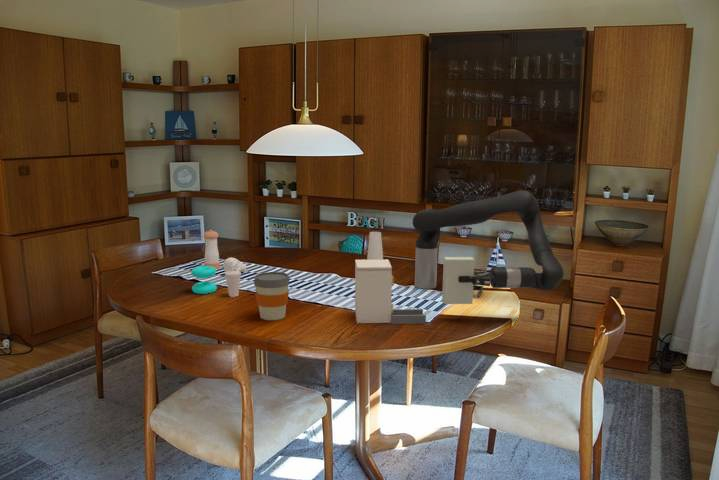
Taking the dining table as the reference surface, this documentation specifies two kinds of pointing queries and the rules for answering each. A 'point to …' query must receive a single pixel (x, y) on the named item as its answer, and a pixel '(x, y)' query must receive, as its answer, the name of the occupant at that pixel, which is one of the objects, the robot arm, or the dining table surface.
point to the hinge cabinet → (379, 295)
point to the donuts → (204, 286)
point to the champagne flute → (375, 246)
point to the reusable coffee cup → (272, 294)
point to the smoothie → (233, 281)
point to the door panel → (451, 286)
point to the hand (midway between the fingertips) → (457, 277)
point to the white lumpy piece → (234, 265)
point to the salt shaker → (211, 249)
